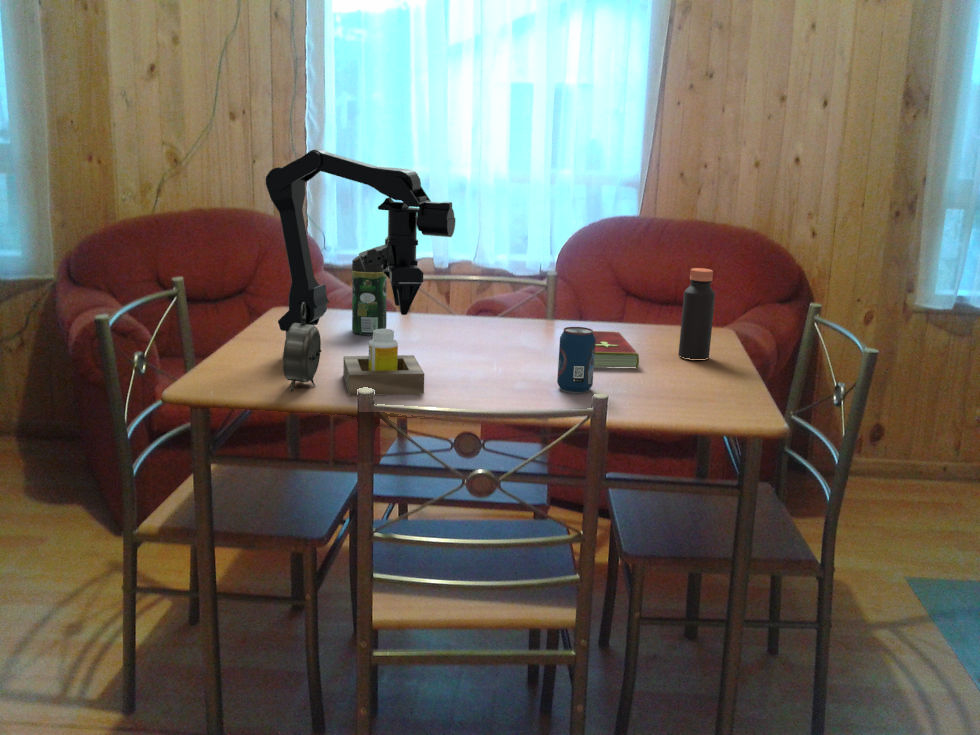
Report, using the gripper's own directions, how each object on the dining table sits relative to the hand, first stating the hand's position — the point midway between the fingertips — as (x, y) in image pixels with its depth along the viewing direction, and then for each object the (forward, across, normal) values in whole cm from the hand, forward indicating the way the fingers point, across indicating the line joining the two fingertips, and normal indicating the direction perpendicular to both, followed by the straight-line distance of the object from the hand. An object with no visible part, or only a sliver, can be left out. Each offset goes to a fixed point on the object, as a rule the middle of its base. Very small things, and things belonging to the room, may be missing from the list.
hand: (400, 310), depth 206 cm
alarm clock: (+12, +13, -20) cm, 27 cm away
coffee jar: (+12, -33, -3) cm, 35 cm away
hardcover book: (+13, -6, +46) cm, 48 cm away
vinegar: (+12, -4, +67) cm, 68 cm away
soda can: (+12, +19, +32) cm, 39 cm away
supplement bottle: (+12, +13, -5) cm, 18 cm away
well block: (+12, +13, -5) cm, 18 cm away
